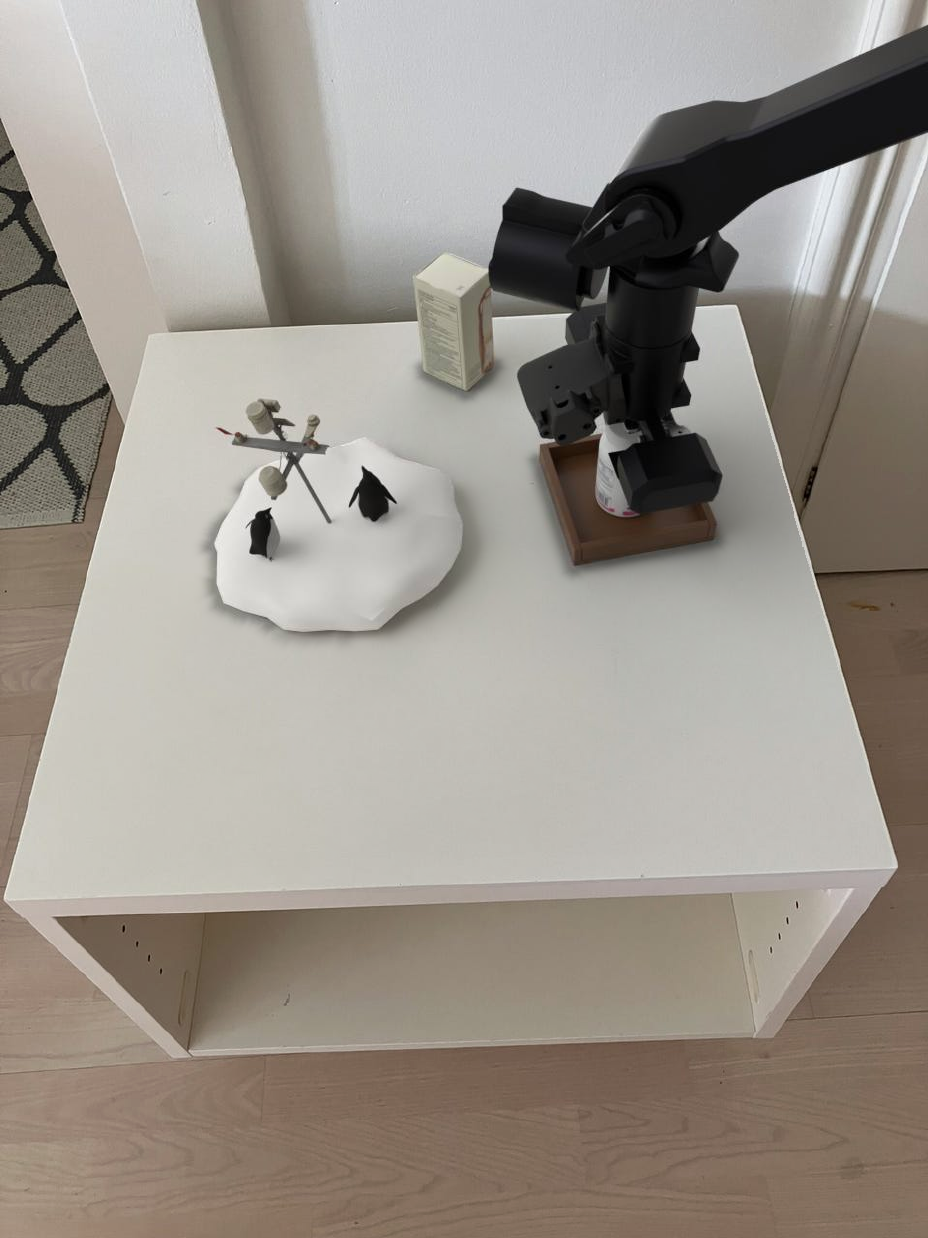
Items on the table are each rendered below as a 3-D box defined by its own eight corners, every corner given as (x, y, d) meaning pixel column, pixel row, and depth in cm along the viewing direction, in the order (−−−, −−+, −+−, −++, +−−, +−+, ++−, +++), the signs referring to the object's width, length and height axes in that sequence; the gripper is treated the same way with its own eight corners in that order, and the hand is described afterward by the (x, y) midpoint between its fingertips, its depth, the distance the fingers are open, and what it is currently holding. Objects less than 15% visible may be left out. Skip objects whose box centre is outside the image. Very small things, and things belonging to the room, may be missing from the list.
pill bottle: (659, 479, 82) (672, 403, 75) (649, 524, 80) (661, 449, 73) (601, 469, 83) (608, 392, 76) (589, 513, 81) (596, 438, 74)
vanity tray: (669, 436, 85) (672, 420, 84) (713, 539, 79) (717, 524, 78) (539, 459, 84) (539, 443, 83) (573, 565, 78) (574, 550, 77)
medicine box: (496, 364, 91) (494, 270, 83) (466, 393, 89) (461, 299, 81) (450, 342, 93) (443, 247, 84) (420, 370, 91) (410, 276, 83)
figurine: (465, 442, 84) (432, 282, 71) (464, 629, 74) (425, 485, 61) (233, 464, 87) (158, 314, 73) (202, 647, 77) (108, 513, 63)
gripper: (498, 252, 71) (501, 413, 84) (564, 442, 61) (556, 593, 74) (652, 226, 72) (631, 390, 85) (743, 410, 62) (704, 565, 75)
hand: (627, 478), depth 80 cm, fingers closed on pill bottle, 5 cm apart
